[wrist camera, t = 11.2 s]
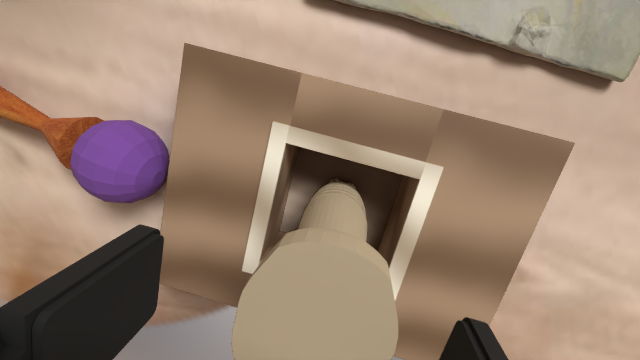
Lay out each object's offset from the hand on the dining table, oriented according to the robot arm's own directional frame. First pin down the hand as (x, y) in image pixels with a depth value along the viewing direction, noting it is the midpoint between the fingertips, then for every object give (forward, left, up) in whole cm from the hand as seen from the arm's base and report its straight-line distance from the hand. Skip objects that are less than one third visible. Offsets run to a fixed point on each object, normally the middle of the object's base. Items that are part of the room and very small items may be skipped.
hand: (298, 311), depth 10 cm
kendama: (+1, -22, -15) cm, 27 cm away
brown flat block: (+1, +1, -15) cm, 15 cm away
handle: (+1, 0, -15) cm, 15 cm away
